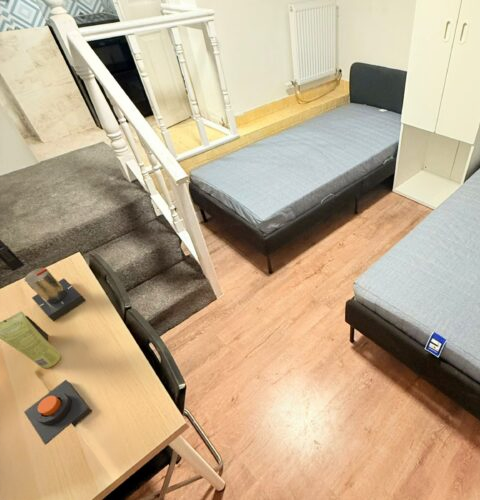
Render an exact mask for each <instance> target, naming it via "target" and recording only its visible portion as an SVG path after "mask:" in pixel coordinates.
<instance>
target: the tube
mask: <svg viewBox="0 0 480 500" xmlns="http://www.w3.org/2000/svg"><path fill="white" fill-rule="evenodd" d="M26 316H27V315H25V313H24V312H23V311H18V312H17V313H15V314H12V315H11V316H9V317H7V318H5V319H2V320H1V321H0V340H1V341H3V342H4V343H6V344H8V345H9V346H10V347H12V348H14V349H15V350H16V351H18V352H20V353H21V354H22V355H24V356H25V357H27V358H28V359H29V360H31V361H33V362H34V363H35V364H36V365H37V366H39V367H40V368H42V369H50V368H52V367H53V366H55V365H56V364H57V363H58V362H59V361H60V359H61V353H60V352H59V351H58V350H57V349H56V348H55V347H54V346H53V345H52V344H51V343H50V342H49V341H48V342H47V341H46V339H45V338H44V337H43V336H42V335H41V334H40V333H39V332H38V331H37V330H36V329H35V328H34V326H33V325H32V324H31V323H30V322H29V320H28V319H27V318H26Z"/></svg>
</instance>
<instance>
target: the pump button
mask: <svg viewBox="0 0 480 500" xmlns="http://www.w3.org/2000/svg"><path fill="white" fill-rule="evenodd" d="M60 407H61V400H60V399H58V398H57V397H55V396H48V397H46V398H44V399H43V400H42V401H41V402H40V403H39V405H38V408H37V409H38V412H40V413H41V414H43V415H45V416H50V415H53V414H54V413H55V412H57V411H58V410H59V408H60Z"/></svg>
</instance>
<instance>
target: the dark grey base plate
mask: <svg viewBox="0 0 480 500" xmlns="http://www.w3.org/2000/svg"><path fill="white" fill-rule="evenodd" d="M48 396H55V397H57V398H58V399H60V400H61V407H60V408H59V410H58V411H57V412H55V413H54V414H53V415H50V416H45V415H43V414H41V413H40V412H38V409H37V408H38V405H39V403H40V402H41V401H42V400H43V399H44V398H46V397H48ZM91 412H93V410H92V409H91V408H90V406H89V405H88V403H87V402H86V401H85V400H84V399H83V397H82V395H80V393H79V392H78V391H77V390H76V388H75V387H74V386H73V384H71V382H70V381H68V380H67V379H65V380H64V381H62V382H60V384H58V385H57V386H56V387H54V388H53V389H51V390H50V391H48V393H46V394H45V395H44V396H42V397H41V398H40V399H38V400H37V401H36V402H35V403H34V404H32V405H31V406H29V407H28V408H27V409H26V410H24V411H23V413H24V414H25V416H26V417H27V419H28V420H29V422H30V424H31V425H32V427H33V428H34V430H35V431H36V433H37V434H38V436H39V438H40V439H41V440H42V442H43V444H44V445H47V444H48V443H50V442H51V441H52V440H53V439H54V438H55V437H57V436H58V434H60V433H61V432H62V431H64V430H65V429H66V428H67V427H68V426H69V425H72V426H73V427H75V426H76V425H78V424H79V423H80V422H81V421H82V420H84V419H85V418H86V417H87V416H88V415H90V414H91Z"/></svg>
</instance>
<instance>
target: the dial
mask: <svg viewBox="0 0 480 500" xmlns="http://www.w3.org/2000/svg"><path fill="white" fill-rule="evenodd" d="M24 282H25V283H26V284H27V285H28V286H29V287H30V288H31V289H32V290H33V291H34V292H35V293H36V295H37V294H38V295H39V296H40V297H41V298H42V299H43V300H44V301H45V302H46V303H48V304H53V303H56V302H59V301H60V300H62V299H63V298H64V297H65V296H66V294H67V291H66V290H65V289H64V287H63V286H62V285H61V284H60V283H59V280H57V278H56V277H55V276H54V275H53V274H52V273H51V272H50V271H49V270H48V269H47V267H39V268H36V269H33V270H32V271H29V273H28V274H27V275H26V276H25V277H24Z"/></svg>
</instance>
